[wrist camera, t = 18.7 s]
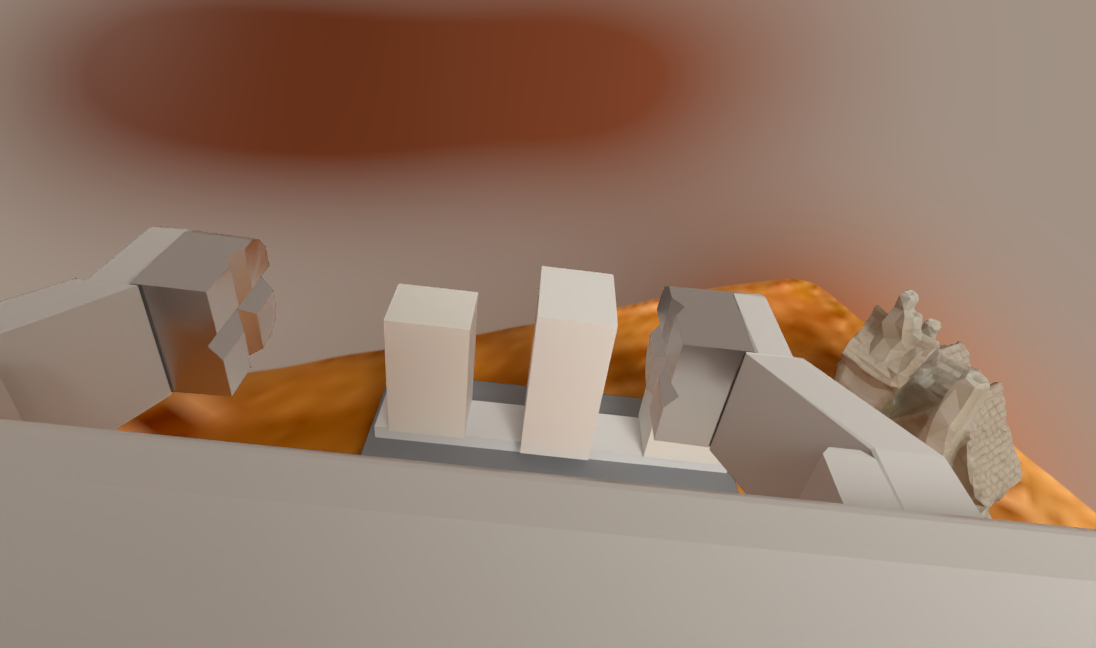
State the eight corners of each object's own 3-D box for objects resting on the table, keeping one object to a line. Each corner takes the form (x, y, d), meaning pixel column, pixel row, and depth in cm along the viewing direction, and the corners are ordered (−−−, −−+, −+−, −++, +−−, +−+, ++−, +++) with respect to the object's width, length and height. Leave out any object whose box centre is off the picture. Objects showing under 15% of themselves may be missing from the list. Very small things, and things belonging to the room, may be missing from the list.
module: (520, 452, 41) (537, 316, 35) (525, 395, 46) (542, 265, 39) (588, 460, 41) (617, 325, 35) (587, 402, 46) (613, 273, 40)
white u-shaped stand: (355, 489, 41) (341, 349, 34) (391, 386, 49) (386, 256, 42) (737, 527, 42) (797, 398, 35) (710, 419, 50) (754, 299, 43)
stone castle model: (906, 586, 39) (1044, 400, 31) (749, 413, 52) (820, 249, 44) (1060, 537, 45) (1210, 371, 37) (886, 392, 58) (971, 245, 50)
